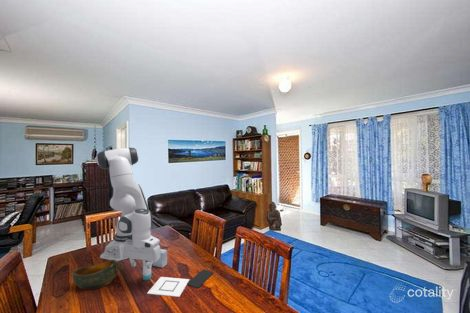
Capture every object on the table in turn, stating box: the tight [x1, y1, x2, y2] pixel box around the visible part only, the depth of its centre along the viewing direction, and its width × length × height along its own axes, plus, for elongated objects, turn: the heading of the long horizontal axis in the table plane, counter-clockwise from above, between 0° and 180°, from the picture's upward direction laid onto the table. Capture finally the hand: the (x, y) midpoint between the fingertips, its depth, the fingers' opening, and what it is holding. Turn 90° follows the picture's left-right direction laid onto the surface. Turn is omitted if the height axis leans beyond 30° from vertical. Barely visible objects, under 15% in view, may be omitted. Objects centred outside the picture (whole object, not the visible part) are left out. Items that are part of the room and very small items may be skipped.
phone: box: [186, 269, 214, 289], centre depth 107 cm, size 7×1×15 cm
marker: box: [142, 260, 152, 281], centre depth 107 cm, size 4×4×10 cm
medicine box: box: [152, 248, 168, 269], centre depth 120 cm, size 8×4×9 cm, turn 71°
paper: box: [146, 276, 190, 298], centre depth 100 cm, size 16×13×1 cm
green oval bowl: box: [71, 260, 124, 290], centre depth 102 cm, size 13×20×10 cm, turn 79°
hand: (141, 267), depth 105 cm, fingers open, 8 cm apart
